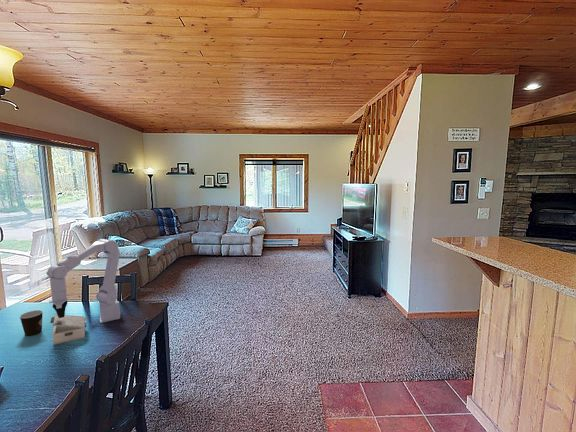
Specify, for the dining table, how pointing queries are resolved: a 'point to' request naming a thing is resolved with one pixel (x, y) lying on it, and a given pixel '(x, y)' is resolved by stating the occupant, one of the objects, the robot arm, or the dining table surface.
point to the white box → (68, 334)
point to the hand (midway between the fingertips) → (61, 317)
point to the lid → (68, 321)
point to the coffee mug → (32, 322)
